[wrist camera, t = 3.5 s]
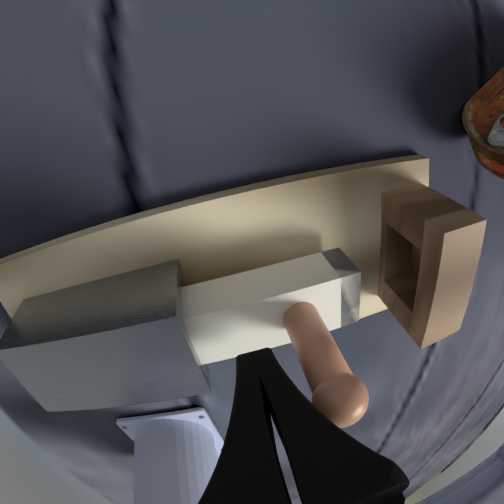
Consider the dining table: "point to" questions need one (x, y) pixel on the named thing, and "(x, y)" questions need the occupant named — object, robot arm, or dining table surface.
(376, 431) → the dining table surface
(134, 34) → the dining table surface
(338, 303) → the white bar
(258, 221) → the base board
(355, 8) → the dining table surface
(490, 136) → the tin
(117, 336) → the grey rectangular sleeve
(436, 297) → the socket block
